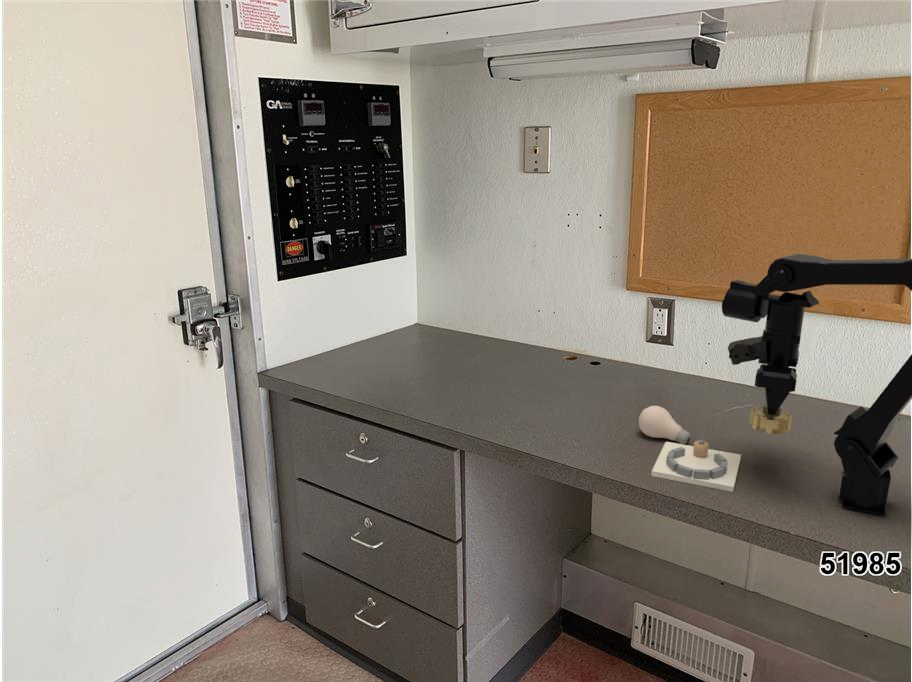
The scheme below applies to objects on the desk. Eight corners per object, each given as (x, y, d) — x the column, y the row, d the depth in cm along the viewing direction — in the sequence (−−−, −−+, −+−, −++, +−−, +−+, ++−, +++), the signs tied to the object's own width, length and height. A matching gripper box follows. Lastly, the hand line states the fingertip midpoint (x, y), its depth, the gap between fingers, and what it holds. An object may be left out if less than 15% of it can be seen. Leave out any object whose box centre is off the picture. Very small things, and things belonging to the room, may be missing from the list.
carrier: (740, 459, 136) (742, 440, 135) (733, 492, 124) (735, 471, 123) (665, 446, 142) (667, 427, 141) (651, 475, 130) (652, 455, 129)
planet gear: (790, 423, 130) (795, 389, 129) (789, 437, 125) (794, 402, 123) (750, 416, 133) (755, 383, 131) (747, 430, 127) (752, 395, 126)
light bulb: (701, 420, 142) (652, 394, 148) (686, 436, 138) (636, 409, 143) (692, 444, 146) (644, 418, 151) (677, 460, 142) (629, 433, 147)
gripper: (739, 310, 135) (730, 387, 140) (728, 335, 119) (718, 422, 123) (804, 317, 130) (792, 396, 135) (801, 344, 114) (788, 433, 119)
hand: (771, 411), depth 128 cm, fingers closed on planet gear, 3 cm apart
